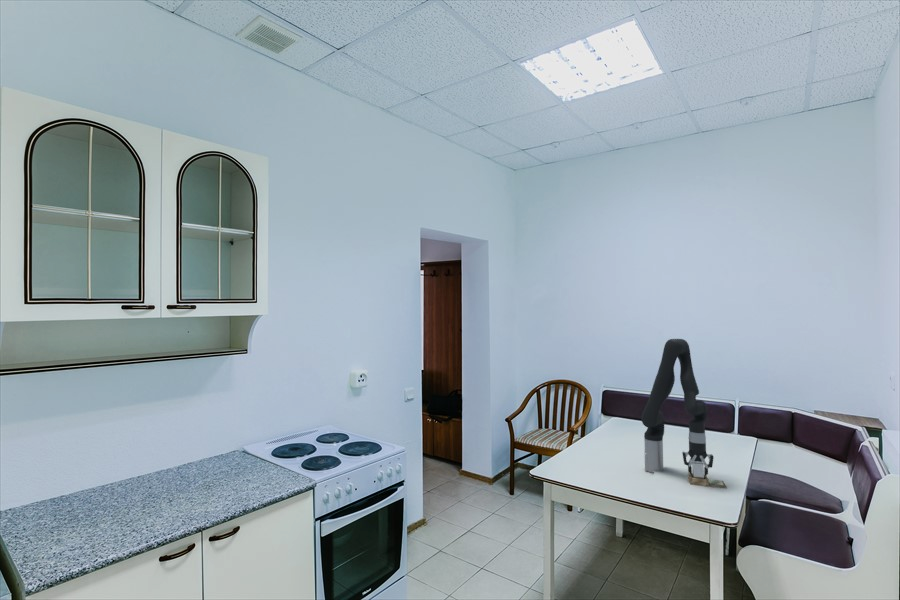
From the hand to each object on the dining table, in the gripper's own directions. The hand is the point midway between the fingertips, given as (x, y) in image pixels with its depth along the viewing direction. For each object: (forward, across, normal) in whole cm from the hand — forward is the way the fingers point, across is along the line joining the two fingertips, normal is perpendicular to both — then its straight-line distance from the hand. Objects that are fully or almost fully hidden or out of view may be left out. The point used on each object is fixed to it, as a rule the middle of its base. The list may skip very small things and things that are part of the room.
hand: (698, 474), depth 224 cm
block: (+4, 0, 0) cm, 4 cm away
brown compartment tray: (+5, +4, +2) cm, 7 cm away
